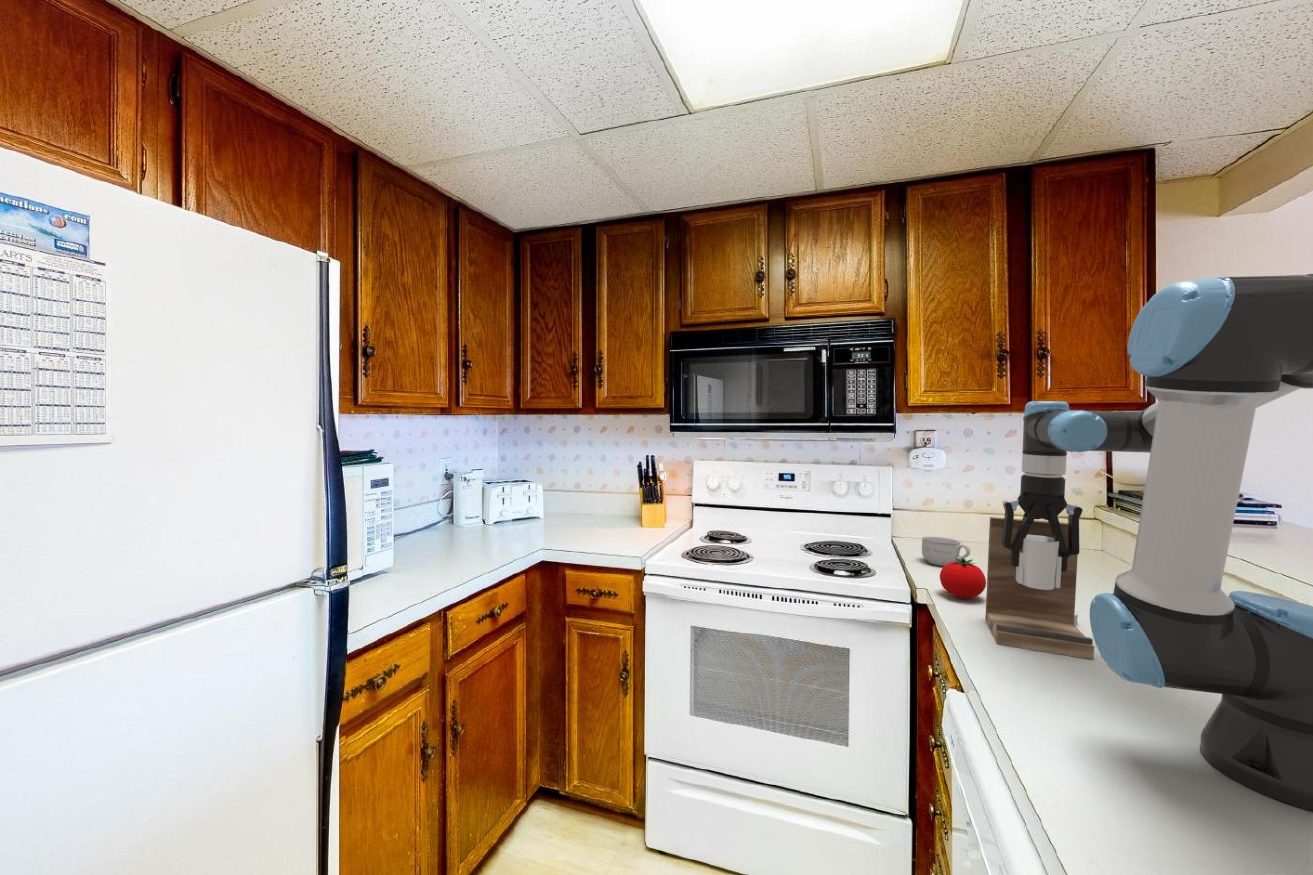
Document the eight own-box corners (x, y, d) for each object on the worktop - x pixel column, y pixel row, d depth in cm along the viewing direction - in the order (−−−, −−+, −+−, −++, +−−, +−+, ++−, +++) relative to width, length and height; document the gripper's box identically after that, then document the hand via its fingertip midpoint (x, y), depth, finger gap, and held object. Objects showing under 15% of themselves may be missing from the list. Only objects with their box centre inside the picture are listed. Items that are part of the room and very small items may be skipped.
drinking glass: (1064, 588, 110) (1067, 541, 110) (1043, 592, 108) (1045, 543, 107) (1031, 578, 116) (1033, 533, 116) (1010, 582, 114) (1013, 536, 113)
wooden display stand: (1093, 659, 103) (1100, 537, 102) (997, 644, 109) (1002, 529, 108) (1070, 631, 116) (1076, 523, 115) (985, 619, 122) (989, 516, 121)
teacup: (913, 561, 170) (914, 536, 170) (936, 557, 175) (937, 533, 174) (953, 573, 157) (954, 546, 157) (977, 569, 162) (978, 543, 162)
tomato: (929, 592, 140) (931, 555, 140) (958, 588, 144) (960, 552, 143) (965, 606, 130) (966, 566, 130) (995, 601, 134) (996, 562, 134)
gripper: (1092, 475, 111) (1086, 584, 112) (987, 470, 118) (982, 572, 119) (1106, 480, 104) (1099, 596, 105) (993, 474, 111) (988, 582, 112)
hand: (1037, 583), depth 112 cm, fingers closed on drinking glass, 6 cm apart
